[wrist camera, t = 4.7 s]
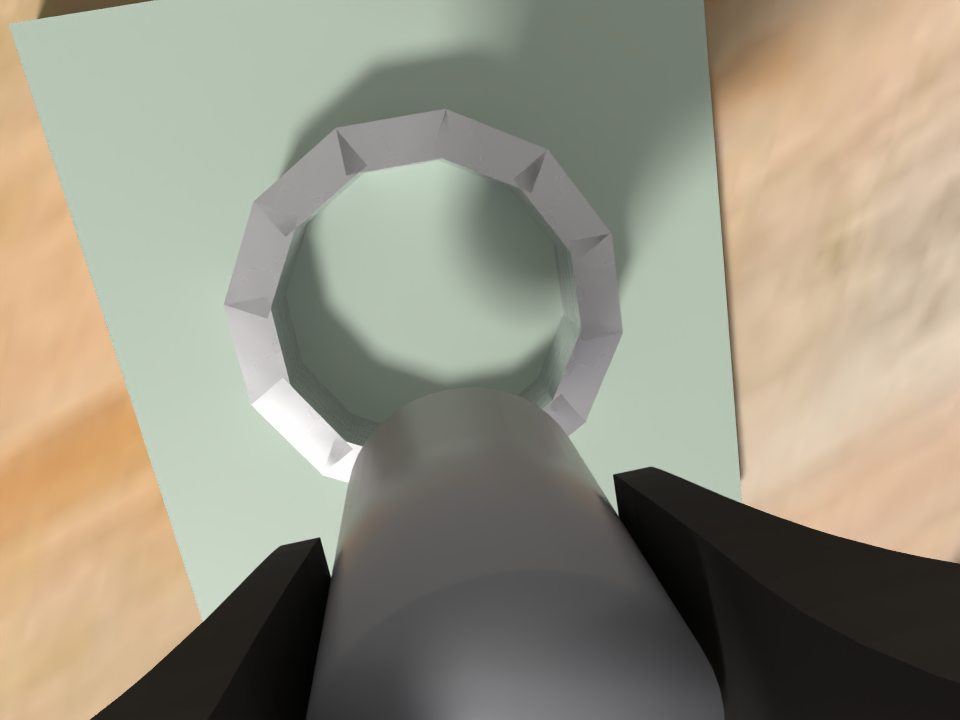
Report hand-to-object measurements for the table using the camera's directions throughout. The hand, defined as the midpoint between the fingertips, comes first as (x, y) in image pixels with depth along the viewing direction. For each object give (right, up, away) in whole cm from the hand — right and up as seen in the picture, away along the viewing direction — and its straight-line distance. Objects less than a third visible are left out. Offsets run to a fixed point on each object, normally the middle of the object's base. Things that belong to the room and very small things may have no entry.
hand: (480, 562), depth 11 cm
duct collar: (-1, +5, +8) cm, 10 cm away
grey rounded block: (0, 0, +2) cm, 3 cm away
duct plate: (-1, +5, +8) cm, 10 cm away
